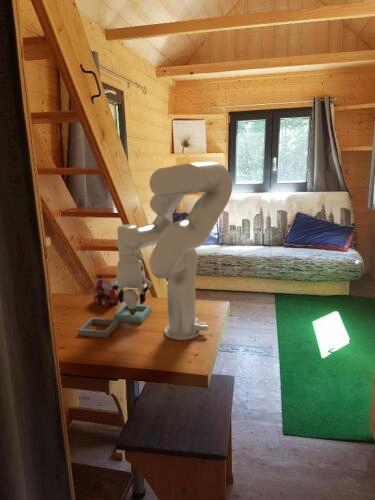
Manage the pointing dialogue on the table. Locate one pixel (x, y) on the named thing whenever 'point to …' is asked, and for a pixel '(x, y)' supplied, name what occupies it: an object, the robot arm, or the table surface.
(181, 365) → the table surface
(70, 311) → the table surface
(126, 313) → the tray
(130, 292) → the light bulb
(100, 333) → the holder
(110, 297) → the toy fire truck
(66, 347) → the table surface
